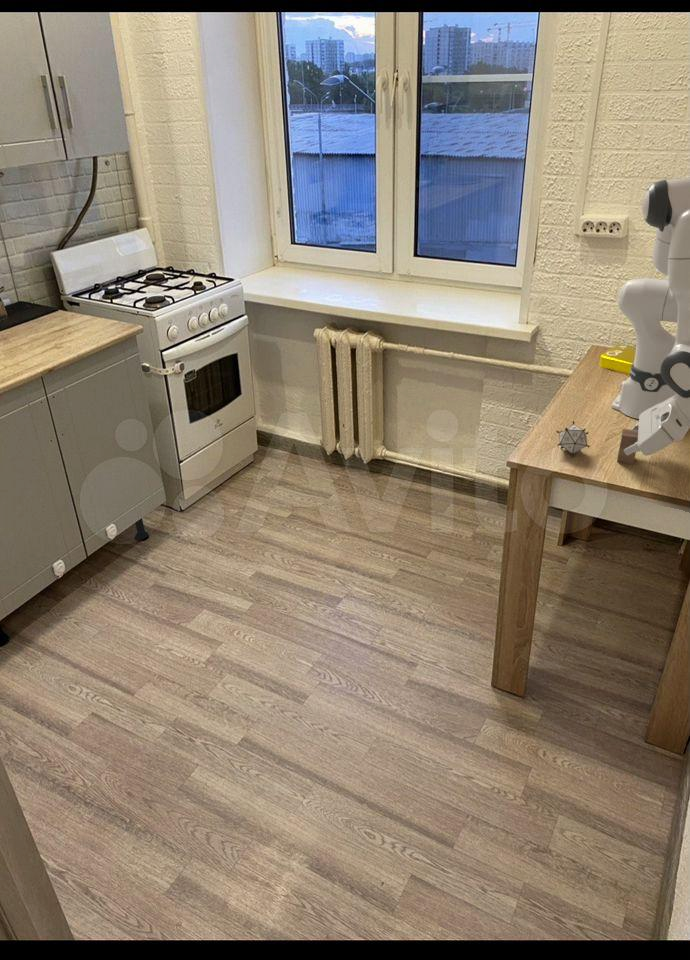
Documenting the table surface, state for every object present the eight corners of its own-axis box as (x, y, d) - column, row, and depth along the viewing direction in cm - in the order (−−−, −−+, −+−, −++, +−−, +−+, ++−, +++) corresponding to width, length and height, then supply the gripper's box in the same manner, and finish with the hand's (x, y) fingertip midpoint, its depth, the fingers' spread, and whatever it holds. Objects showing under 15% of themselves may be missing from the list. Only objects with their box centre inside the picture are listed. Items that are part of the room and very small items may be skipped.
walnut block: (617, 455, 190) (623, 428, 186) (633, 457, 189) (639, 430, 185) (617, 462, 187) (622, 435, 183) (633, 464, 186) (638, 437, 181)
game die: (565, 460, 196) (566, 424, 197) (594, 459, 190) (596, 422, 191) (549, 455, 190) (551, 418, 191) (579, 454, 184) (580, 416, 185)
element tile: (638, 378, 235) (641, 364, 233) (596, 367, 245) (598, 354, 242) (657, 365, 244) (660, 352, 242) (616, 355, 254) (618, 342, 251)
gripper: (666, 390, 185) (620, 419, 194) (666, 423, 169) (616, 453, 177) (681, 408, 186) (634, 436, 194) (682, 442, 170) (632, 471, 178)
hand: (626, 444), depth 186 cm, fingers open, 8 cm apart
